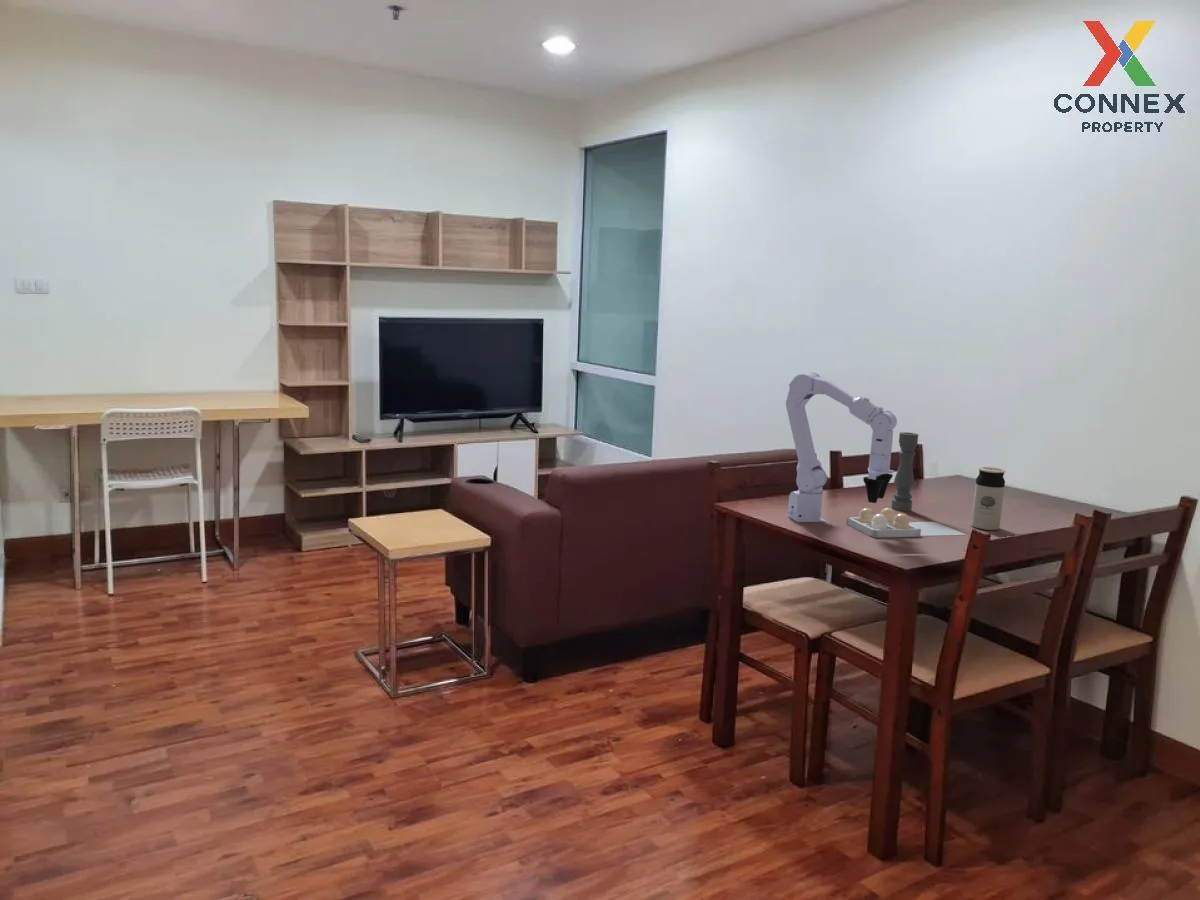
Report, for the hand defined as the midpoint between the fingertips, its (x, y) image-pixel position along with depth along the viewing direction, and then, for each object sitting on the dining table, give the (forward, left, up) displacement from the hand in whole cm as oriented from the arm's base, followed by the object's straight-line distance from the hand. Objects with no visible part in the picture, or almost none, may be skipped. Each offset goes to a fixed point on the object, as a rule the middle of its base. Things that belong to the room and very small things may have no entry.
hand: (875, 500), depth 260 cm
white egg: (0, -4, -9) cm, 10 cm away
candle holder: (+25, +25, -10) cm, 36 cm away
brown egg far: (+7, +3, -9) cm, 11 cm away
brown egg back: (+7, -4, -9) cm, 12 cm away
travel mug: (+39, +2, -10) cm, 40 cm away
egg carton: (+11, 0, -9) cm, 14 cm away
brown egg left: (0, +3, -9) cm, 9 cm away
